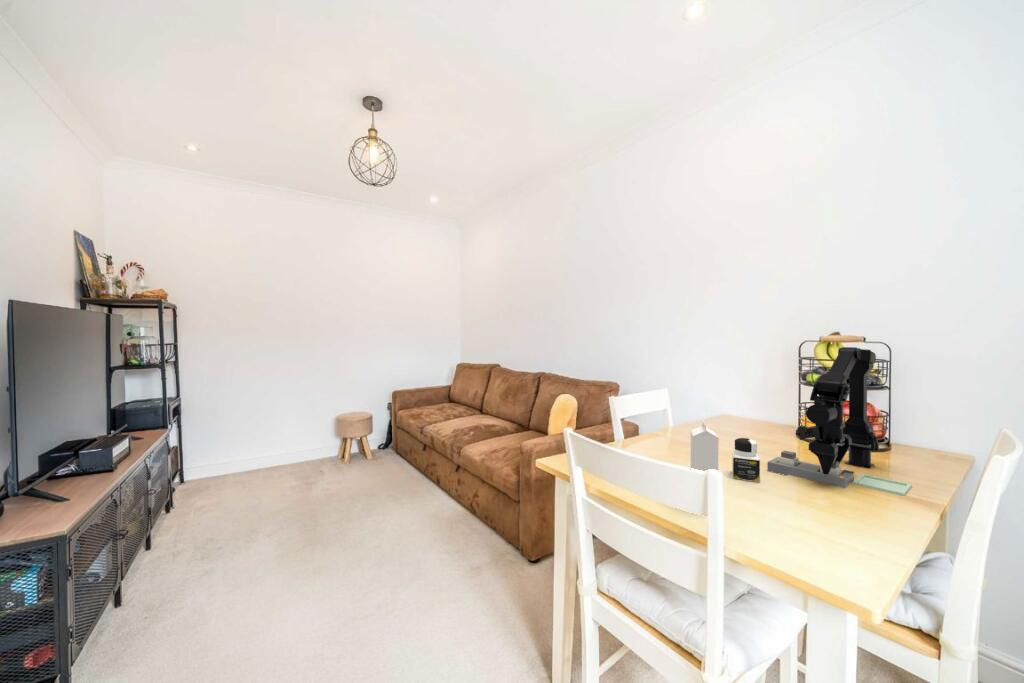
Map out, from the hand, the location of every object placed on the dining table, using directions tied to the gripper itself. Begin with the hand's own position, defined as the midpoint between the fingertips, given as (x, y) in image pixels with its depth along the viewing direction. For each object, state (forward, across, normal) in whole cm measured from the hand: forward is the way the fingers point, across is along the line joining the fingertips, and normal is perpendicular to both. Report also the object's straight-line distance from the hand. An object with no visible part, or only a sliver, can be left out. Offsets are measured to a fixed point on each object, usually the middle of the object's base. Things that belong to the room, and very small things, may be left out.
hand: (830, 470), depth 120 cm
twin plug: (+3, 0, -11) cm, 12 cm away
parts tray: (+3, -6, +10) cm, 13 cm away
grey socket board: (+3, 0, -6) cm, 6 cm away
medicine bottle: (+4, +16, -18) cm, 24 cm away
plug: (+3, 0, 0) cm, 3 cm away
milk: (+3, +46, -16) cm, 49 cm away
